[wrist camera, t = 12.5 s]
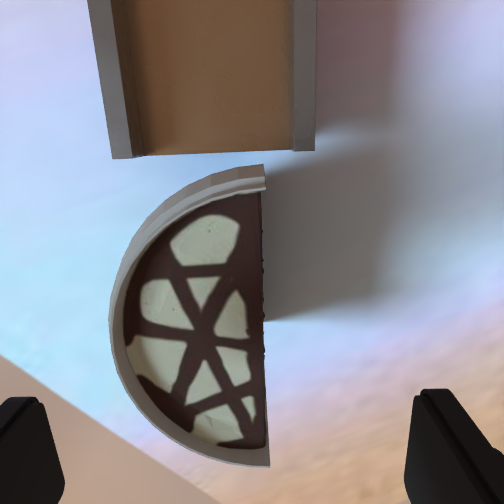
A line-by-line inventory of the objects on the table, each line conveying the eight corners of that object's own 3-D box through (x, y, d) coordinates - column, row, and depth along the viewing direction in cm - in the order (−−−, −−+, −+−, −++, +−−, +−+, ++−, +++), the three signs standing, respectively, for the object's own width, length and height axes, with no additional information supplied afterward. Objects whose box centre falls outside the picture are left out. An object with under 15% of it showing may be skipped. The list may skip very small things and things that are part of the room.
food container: (149, 156, 20) (60, 174, 11) (258, 153, 20) (265, 169, 11) (171, 344, 24) (119, 481, 14) (262, 342, 24) (270, 477, 14)
